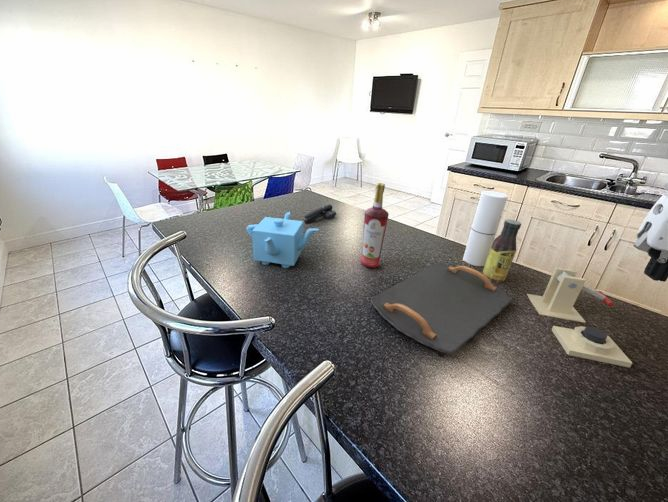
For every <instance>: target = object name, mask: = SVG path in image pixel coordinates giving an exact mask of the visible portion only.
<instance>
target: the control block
mask: <svg viewBox="0 0 668 502" xmlns="http://www.w3.org/2000/svg"><path fill="white" fill-rule="evenodd" d="M586 327H587V326H582V325H579V326H575V327H574V329H573V328H570V327H569V328H568V327H563V326H557V325H552V328H551V332H552V333H553V334H554V336H555V338H556V339H557V341H558V343H559V344H560V345H561V347H562V349H563V350H564V351H565V353H566V354H567V355H568V356H572V357H575V358H581V359H586V360H590V361H596V362H600V363H605V364H611V365H615V366H620V367H623V368H624V367H625V368H631V366H633V362H632V361H631V359H630V358H629V357H628V356H627V355H626V354H625V352H623V350H622V349H621V347H619V346H618V344H617V343H616V342H615V341H614V340H613V339H612V338H611V337H610V336H609V335H607V338H606V340H605V342H604V343H603V344H598V343H594V342H592V341H590V340H588V339H587V338H585V337H584V336H583V335H582V333H583V331H584V329H585V328H586Z"/></svg>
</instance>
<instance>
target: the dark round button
mask: <svg viewBox="0 0 668 502" xmlns="http://www.w3.org/2000/svg"><path fill="white" fill-rule="evenodd" d="M585 327H586V328H585V329H584V331H583V333H582V335H583V336H584V337H585V338H587V339H588V340H590V341H592V342H594V343H598V344H603V343H604V342H605V340H606V338H607V336H608V335H607V333H605V332H604V331H603V330H601V329H599V328H597V327H593V326H585Z"/></svg>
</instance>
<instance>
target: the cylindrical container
mask: <svg viewBox="0 0 668 502" xmlns="http://www.w3.org/2000/svg"><path fill="white" fill-rule="evenodd" d="M508 197H509V195H508V194H506V193H504V192H500V191H496V190H482V191H481V193H480V196H479V200H478V203H477V207H476V210H475V213H474V218H473V221H472V225H471V229H470V232H469V235H468V239H467V242H466V246H465V250H464V252H463V253H464V254H463V257H462V261H464V262H465V263H467V264H469V265H471V266H475V267H484V266H485V263H486V260H487V258H488V255H489V252H490V249H491V247H492V245H493V242H494V240H495V238H496V235H497V233H498V229H499V226H500V224H501V223H500V222H501V219H502V216H503V213H504V211H505V207H506V204H507V201H508Z"/></svg>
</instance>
